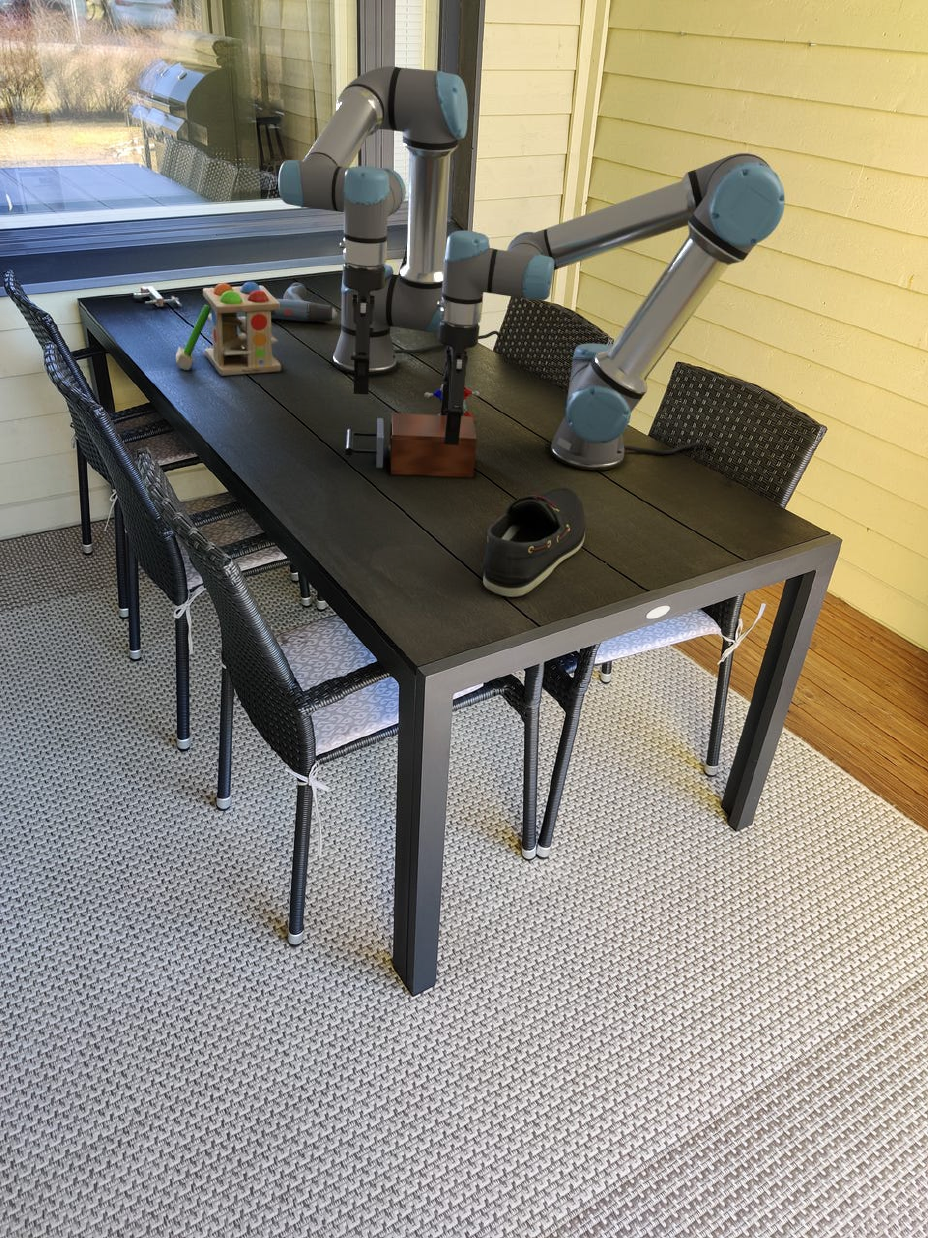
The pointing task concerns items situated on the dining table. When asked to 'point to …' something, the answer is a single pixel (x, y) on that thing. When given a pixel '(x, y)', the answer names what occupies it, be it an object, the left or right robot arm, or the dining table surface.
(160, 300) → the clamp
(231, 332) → the pounding bench toy
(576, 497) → the boat shoe
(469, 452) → the cabinet
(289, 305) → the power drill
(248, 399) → the dining table surface
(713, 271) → the right robot arm
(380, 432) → the drawer
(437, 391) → the molecular model
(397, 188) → the left robot arm
